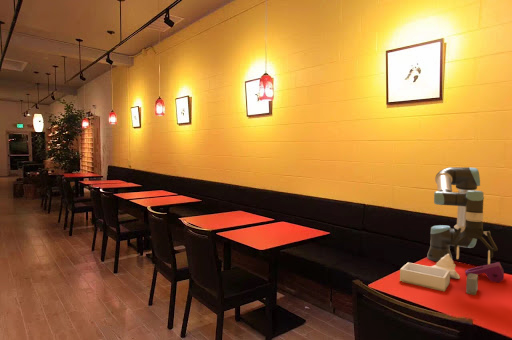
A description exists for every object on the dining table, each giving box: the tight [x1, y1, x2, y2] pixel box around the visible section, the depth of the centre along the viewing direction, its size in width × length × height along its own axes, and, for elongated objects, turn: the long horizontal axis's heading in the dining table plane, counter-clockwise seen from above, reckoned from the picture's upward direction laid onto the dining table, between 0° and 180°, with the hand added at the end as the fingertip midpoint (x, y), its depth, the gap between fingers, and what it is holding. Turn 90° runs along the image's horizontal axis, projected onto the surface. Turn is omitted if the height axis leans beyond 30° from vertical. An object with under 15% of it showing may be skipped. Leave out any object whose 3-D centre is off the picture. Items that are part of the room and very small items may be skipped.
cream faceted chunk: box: [430, 254, 461, 280], centre depth 194 cm, size 12×15×14 cm
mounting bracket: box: [464, 261, 505, 283], centre depth 191 cm, size 9×8×18 cm
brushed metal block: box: [465, 273, 479, 296], centre depth 170 cm, size 10×4×8 cm, turn 141°
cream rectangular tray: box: [399, 261, 451, 292], centre depth 183 cm, size 16×22×7 cm
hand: (472, 261), depth 170 cm, fingers open, 13 cm apart
